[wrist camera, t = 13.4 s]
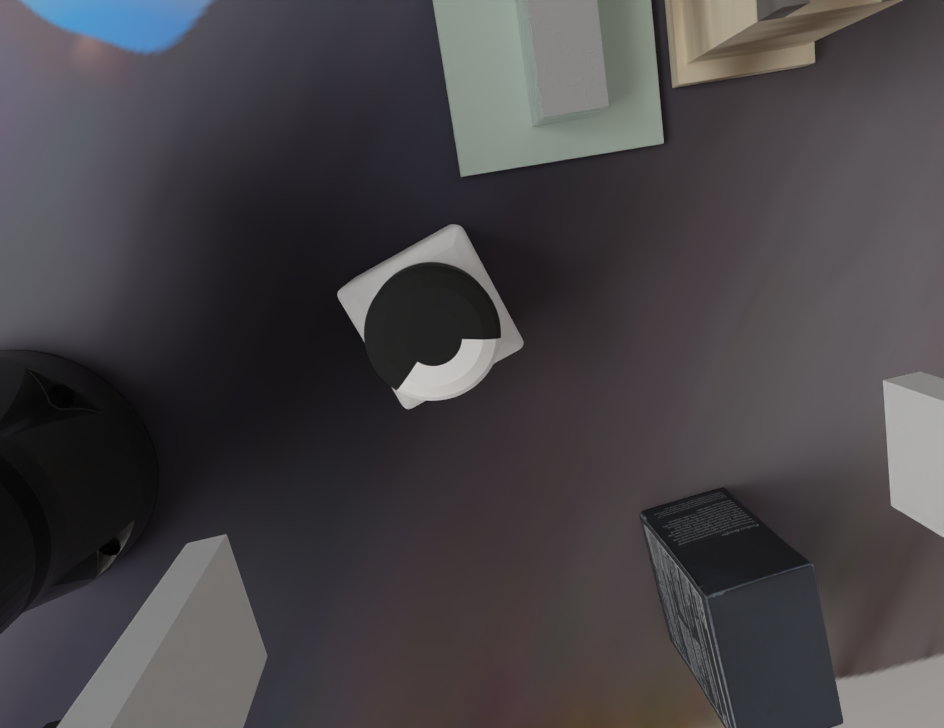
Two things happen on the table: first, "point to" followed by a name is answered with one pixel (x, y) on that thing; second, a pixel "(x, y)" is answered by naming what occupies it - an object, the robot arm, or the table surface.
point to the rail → (562, 59)
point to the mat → (506, 98)
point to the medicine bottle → (431, 318)
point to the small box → (742, 613)
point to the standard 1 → (752, 34)
